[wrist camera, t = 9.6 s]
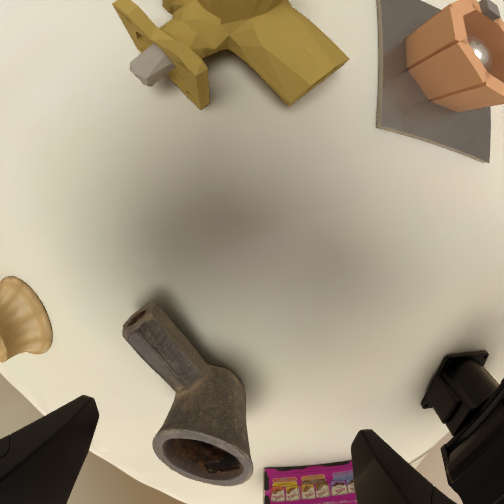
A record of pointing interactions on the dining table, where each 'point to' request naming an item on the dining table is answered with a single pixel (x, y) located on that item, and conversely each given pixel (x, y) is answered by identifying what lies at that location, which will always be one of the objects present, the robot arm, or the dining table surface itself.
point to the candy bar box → (310, 485)
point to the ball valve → (231, 45)
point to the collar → (459, 56)
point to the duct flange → (411, 95)
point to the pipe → (194, 404)
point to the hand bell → (22, 320)
